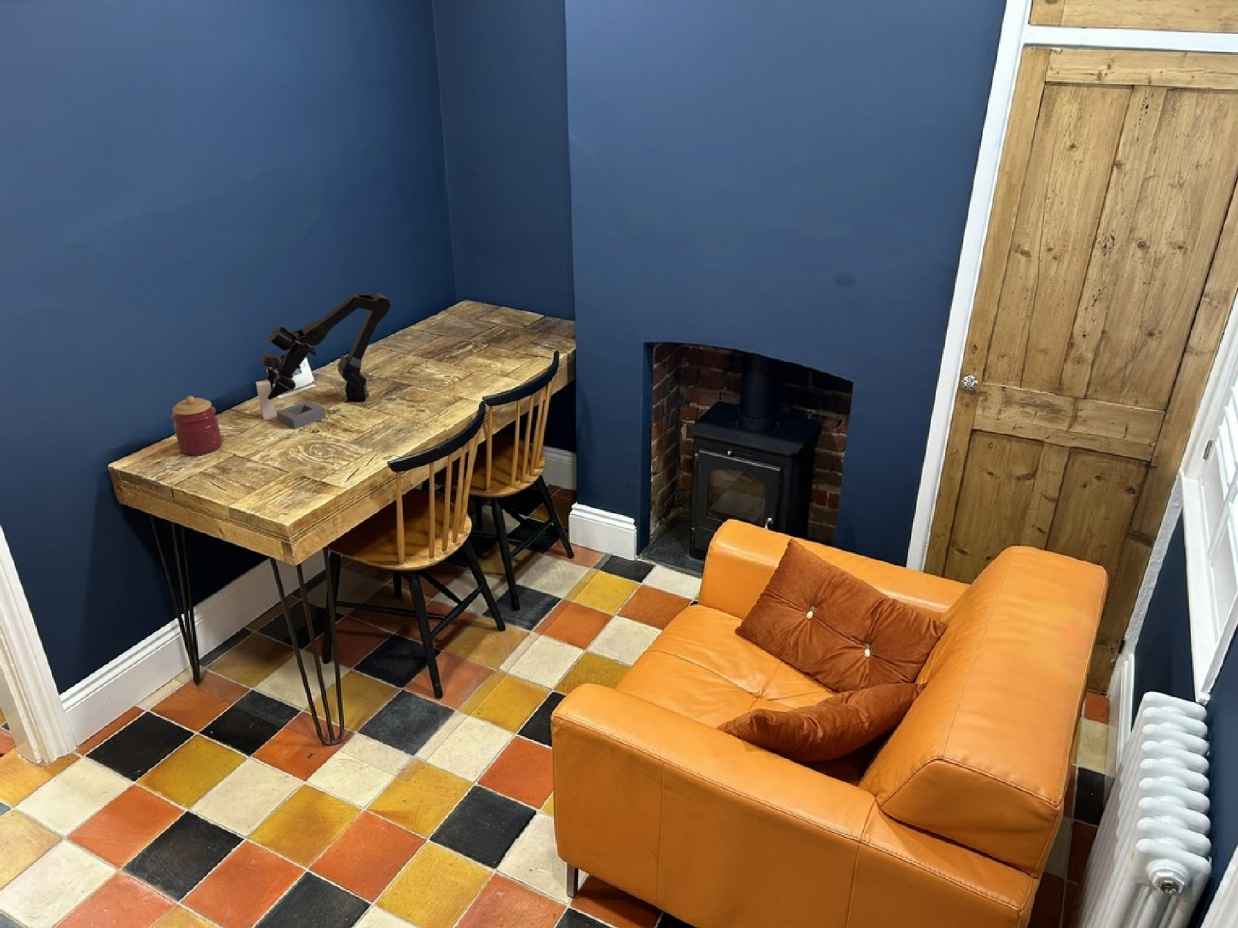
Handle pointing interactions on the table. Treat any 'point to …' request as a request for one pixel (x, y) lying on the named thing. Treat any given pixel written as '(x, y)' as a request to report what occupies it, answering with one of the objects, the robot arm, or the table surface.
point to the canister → (196, 426)
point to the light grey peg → (265, 399)
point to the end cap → (301, 414)
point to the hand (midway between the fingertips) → (265, 394)
